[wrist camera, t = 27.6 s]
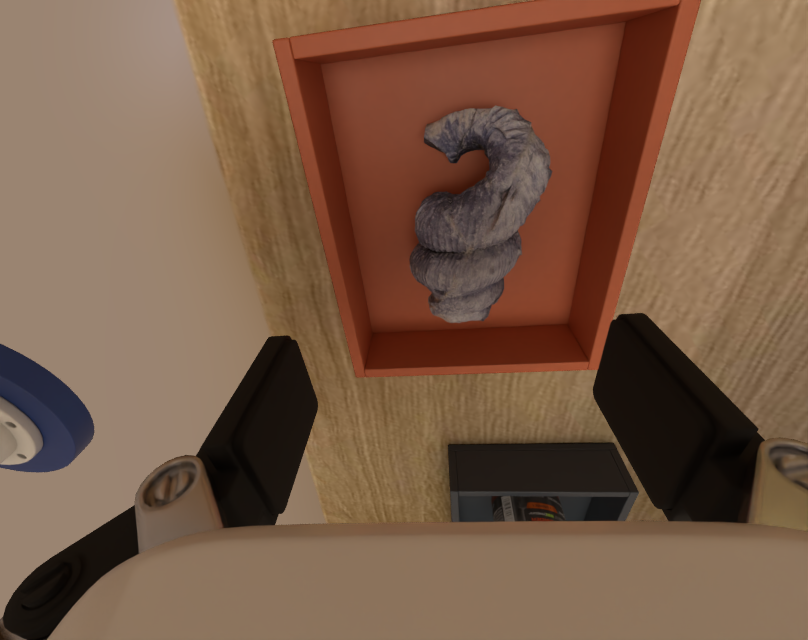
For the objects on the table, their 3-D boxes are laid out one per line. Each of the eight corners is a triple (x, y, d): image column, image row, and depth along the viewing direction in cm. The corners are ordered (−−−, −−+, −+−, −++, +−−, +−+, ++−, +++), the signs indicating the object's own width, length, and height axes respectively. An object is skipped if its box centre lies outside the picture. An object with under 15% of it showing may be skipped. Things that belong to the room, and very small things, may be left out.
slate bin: (452, 522, 37) (454, 567, 33) (448, 444, 29) (450, 491, 26) (583, 524, 35) (600, 571, 32) (614, 442, 28) (639, 492, 24)
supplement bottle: (570, 484, 30) (632, 663, 21) (537, 516, 34) (577, 683, 24) (507, 469, 30) (541, 647, 20) (479, 503, 33) (497, 669, 24)
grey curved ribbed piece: (464, 99, 16) (451, 287, 22) (382, 109, 13) (393, 326, 19) (584, 103, 13) (531, 319, 19) (517, 117, 10) (479, 372, 16)
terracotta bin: (366, 335, 23) (355, 378, 20) (307, 49, 15) (271, 39, 11) (573, 325, 22) (599, 370, 18) (638, 1, 13) (709, -27, 10)
